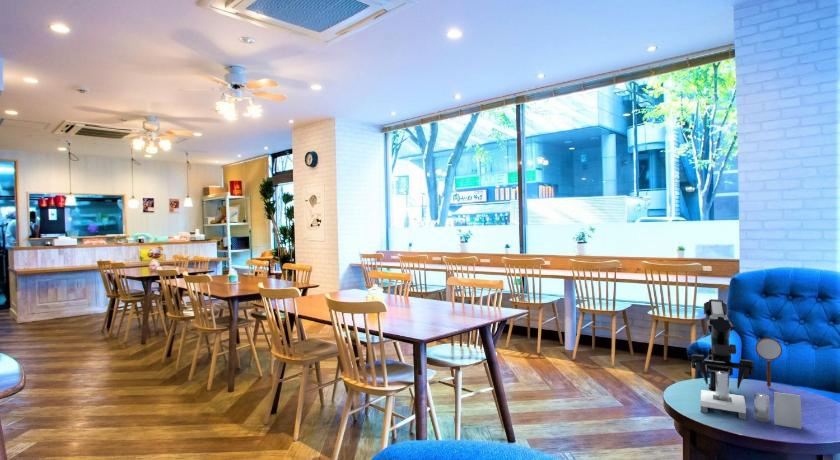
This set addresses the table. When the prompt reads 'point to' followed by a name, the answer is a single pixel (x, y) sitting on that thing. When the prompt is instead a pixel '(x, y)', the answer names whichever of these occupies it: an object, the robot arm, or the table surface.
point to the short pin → (761, 407)
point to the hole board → (723, 403)
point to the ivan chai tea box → (787, 410)
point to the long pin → (722, 386)
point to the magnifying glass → (768, 353)
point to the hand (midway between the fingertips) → (722, 385)
